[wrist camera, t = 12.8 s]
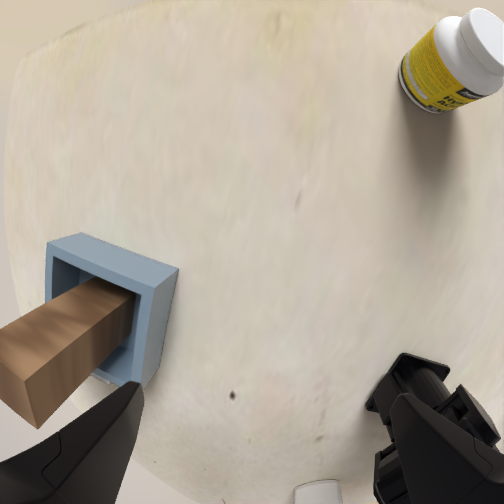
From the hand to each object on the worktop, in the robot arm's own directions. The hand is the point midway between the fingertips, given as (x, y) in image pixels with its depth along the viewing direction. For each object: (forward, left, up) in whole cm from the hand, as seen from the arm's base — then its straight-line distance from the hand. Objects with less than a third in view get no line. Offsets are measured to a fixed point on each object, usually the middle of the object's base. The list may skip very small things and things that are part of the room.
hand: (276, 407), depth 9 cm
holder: (+12, +7, -13) cm, 19 cm away
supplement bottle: (-5, -19, -13) cm, 24 cm away
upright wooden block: (+12, +7, -12) cm, 19 cm away
